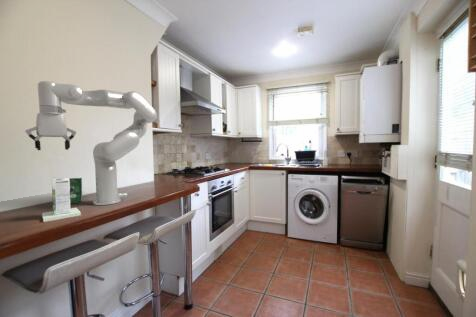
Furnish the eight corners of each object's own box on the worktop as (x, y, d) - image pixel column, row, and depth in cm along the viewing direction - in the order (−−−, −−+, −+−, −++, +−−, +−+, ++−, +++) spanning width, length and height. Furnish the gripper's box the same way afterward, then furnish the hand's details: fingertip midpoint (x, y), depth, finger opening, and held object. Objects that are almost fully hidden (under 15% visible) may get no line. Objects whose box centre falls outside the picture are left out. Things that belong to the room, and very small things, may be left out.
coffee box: (83, 201, 118) (81, 177, 118) (82, 202, 116) (81, 177, 115) (64, 203, 115) (63, 178, 114) (63, 204, 112) (61, 179, 111)
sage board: (76, 210, 102) (76, 207, 102) (80, 215, 94) (80, 212, 94) (42, 215, 94) (41, 213, 94) (43, 222, 86) (43, 219, 86)
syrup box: (53, 212, 95) (52, 178, 94) (71, 209, 98) (69, 177, 97) (52, 215, 90) (50, 180, 89) (71, 212, 94) (69, 179, 93)
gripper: (72, 113, 106) (74, 149, 107) (22, 110, 93) (25, 150, 94) (76, 112, 101) (79, 149, 102) (24, 107, 88) (27, 150, 89)
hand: (53, 149), depth 98 cm, fingers open, 9 cm apart
